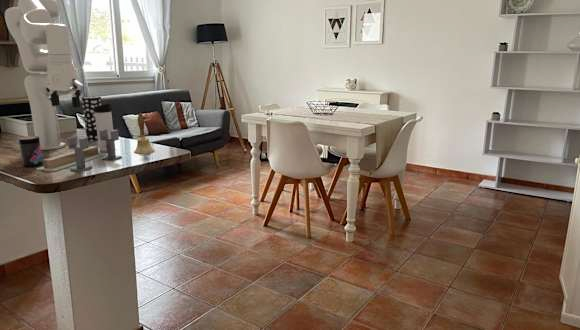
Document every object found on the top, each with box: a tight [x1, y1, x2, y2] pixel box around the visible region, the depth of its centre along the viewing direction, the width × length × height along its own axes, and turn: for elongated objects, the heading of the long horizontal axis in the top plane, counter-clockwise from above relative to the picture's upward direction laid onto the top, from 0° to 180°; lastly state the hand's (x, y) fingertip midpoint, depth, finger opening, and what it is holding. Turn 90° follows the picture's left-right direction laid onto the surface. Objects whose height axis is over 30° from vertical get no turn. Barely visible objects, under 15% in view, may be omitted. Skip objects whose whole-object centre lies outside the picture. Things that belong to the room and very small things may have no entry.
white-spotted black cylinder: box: [81, 96, 103, 142], centre depth 207 cm, size 8×8×20 cm
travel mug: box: [94, 103, 116, 154], centre depth 181 cm, size 6×7×20 cm
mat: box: [36, 152, 107, 172], centre depth 166 cm, size 8×26×1 cm, turn 162°
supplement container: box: [17, 135, 44, 168], centre depth 161 cm, size 7×7×10 cm
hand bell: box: [133, 113, 155, 155], centre depth 181 cm, size 8×8×16 cm
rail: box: [42, 146, 100, 169], centre depth 166 cm, size 3×24×3 cm, turn 163°
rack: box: [66, 129, 123, 173], centre depth 161 cm, size 6×21×11 cm, turn 162°
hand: (66, 106), depth 164 cm, fingers open, 9 cm apart
